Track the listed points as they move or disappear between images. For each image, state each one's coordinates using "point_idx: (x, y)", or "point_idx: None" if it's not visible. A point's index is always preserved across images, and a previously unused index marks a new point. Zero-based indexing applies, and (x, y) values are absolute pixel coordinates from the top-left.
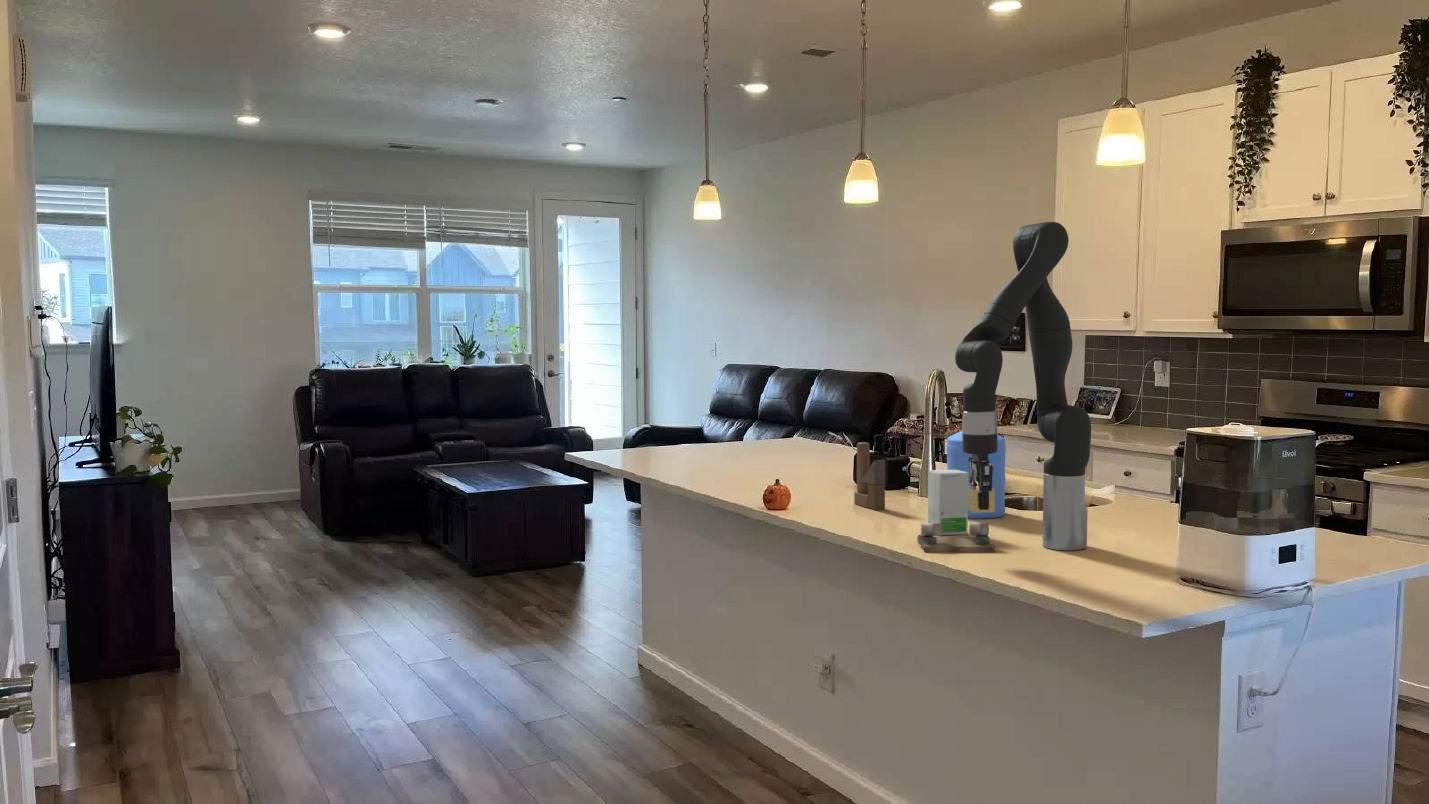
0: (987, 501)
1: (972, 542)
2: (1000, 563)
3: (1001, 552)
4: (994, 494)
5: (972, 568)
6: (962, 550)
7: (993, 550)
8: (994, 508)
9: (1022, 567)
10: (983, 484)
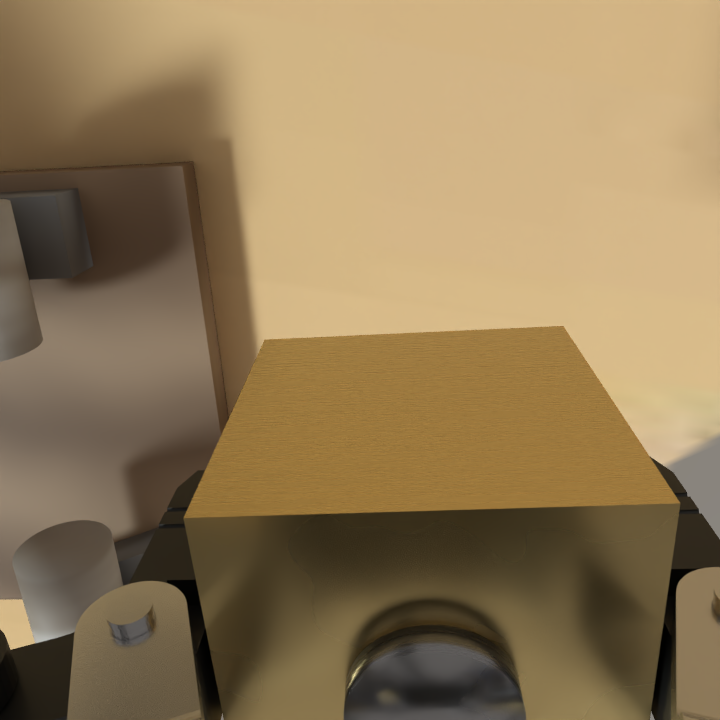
0: (693, 512)
1: (64, 304)
2: (540, 179)
3: (194, 110)
4: (640, 448)
5: (666, 380)
6: (221, 379)
7: (190, 171)
8: (572, 348)
9: (673, 33)
10: (187, 633)
